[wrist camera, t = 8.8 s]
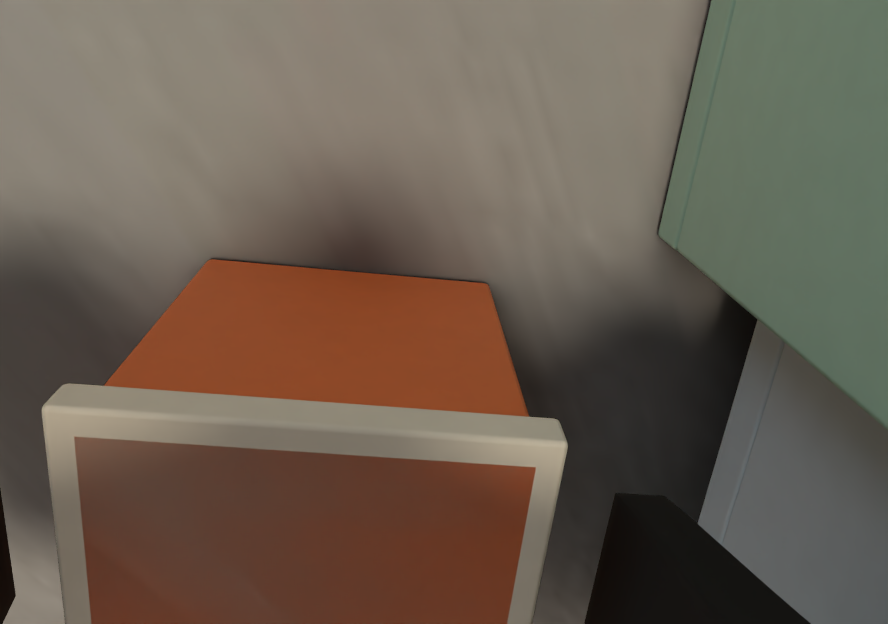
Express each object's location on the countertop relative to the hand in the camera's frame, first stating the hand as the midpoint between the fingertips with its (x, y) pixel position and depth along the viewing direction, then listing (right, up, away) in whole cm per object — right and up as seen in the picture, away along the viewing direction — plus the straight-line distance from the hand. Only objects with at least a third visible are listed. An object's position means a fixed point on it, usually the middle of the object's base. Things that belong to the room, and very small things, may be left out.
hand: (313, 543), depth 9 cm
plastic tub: (0, +1, +3) cm, 4 cm away
